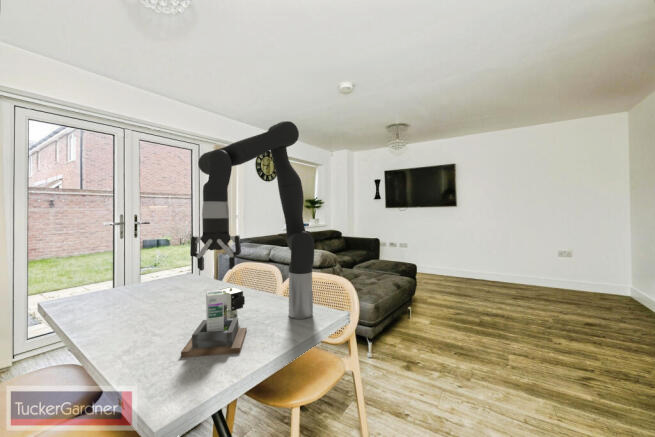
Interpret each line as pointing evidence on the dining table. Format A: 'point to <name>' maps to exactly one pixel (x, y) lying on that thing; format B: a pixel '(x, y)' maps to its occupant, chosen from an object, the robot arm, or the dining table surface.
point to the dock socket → (215, 340)
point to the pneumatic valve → (234, 301)
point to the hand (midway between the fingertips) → (216, 269)
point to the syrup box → (216, 310)
